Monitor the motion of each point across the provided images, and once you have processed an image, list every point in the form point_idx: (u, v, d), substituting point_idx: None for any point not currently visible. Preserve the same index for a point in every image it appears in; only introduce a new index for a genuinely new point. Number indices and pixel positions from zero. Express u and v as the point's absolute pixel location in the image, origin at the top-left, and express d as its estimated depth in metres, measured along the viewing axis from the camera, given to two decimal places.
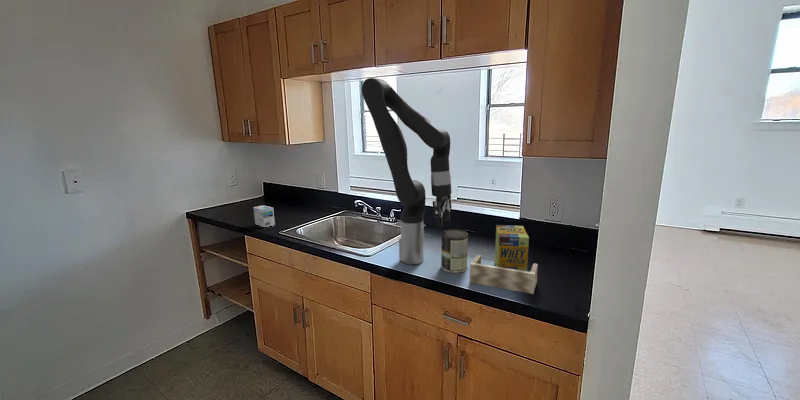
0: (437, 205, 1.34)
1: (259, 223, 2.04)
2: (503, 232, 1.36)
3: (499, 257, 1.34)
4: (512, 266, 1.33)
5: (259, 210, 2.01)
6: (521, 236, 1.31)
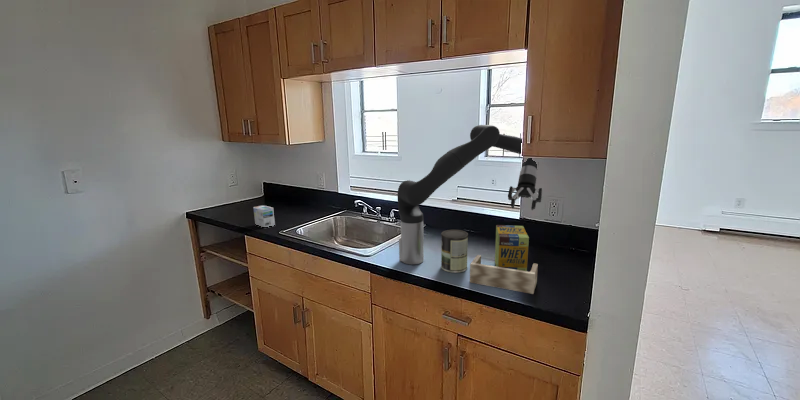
0: (541, 193, 1.60)
1: (259, 223, 2.04)
2: (503, 232, 1.36)
3: (499, 257, 1.34)
4: (512, 266, 1.33)
5: (259, 210, 2.01)
6: (521, 236, 1.31)
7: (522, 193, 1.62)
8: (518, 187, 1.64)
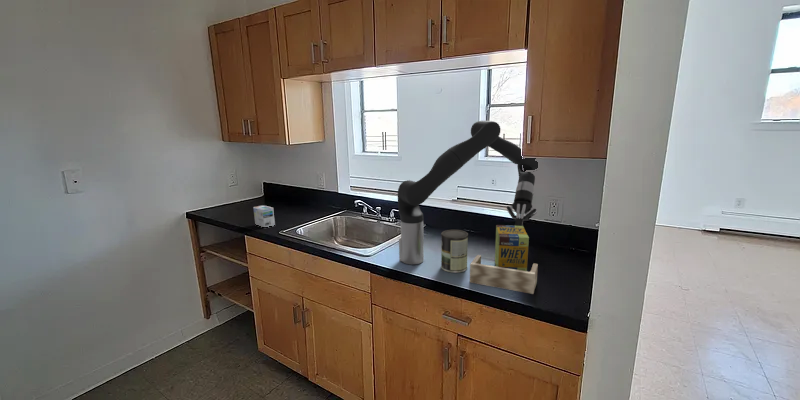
0: (534, 214, 1.57)
1: (259, 223, 2.04)
2: (503, 232, 1.36)
3: (499, 257, 1.34)
4: (512, 266, 1.33)
5: (259, 210, 2.01)
6: (521, 236, 1.31)
7: (522, 209, 1.58)
8: (514, 203, 1.61)
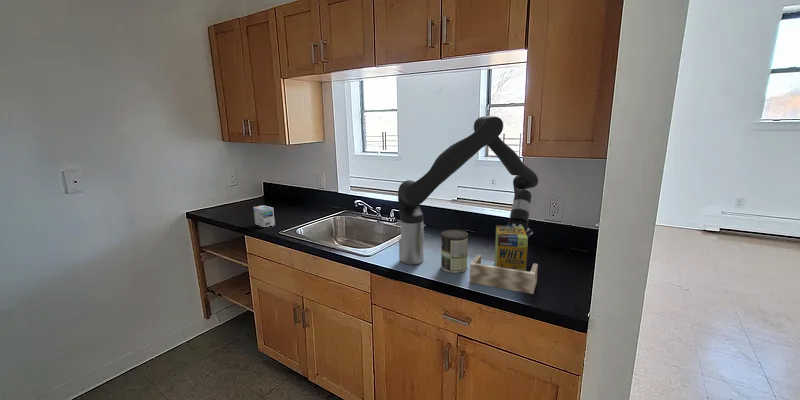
0: (530, 235, 1.49)
1: (259, 223, 2.04)
2: (503, 233, 1.35)
3: (498, 257, 1.33)
4: (511, 266, 1.33)
5: (259, 210, 2.01)
6: (520, 237, 1.31)
7: None
8: (509, 223, 1.53)
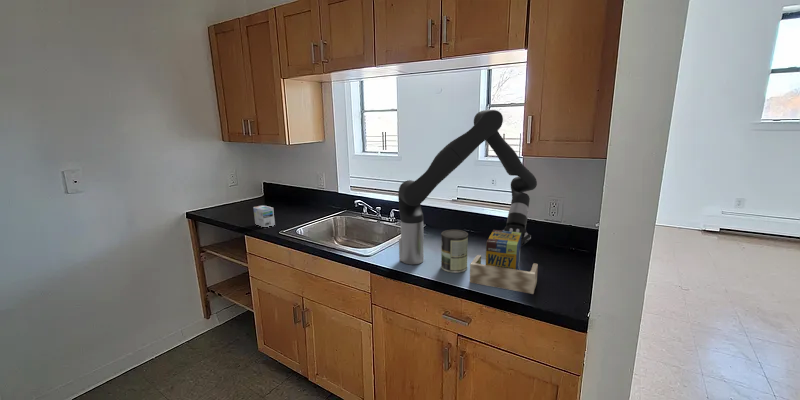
0: (528, 240, 1.42)
1: (259, 223, 2.04)
2: (494, 238, 1.30)
3: (486, 263, 1.28)
4: None
5: (259, 210, 2.01)
6: (509, 243, 1.25)
7: None
8: (506, 227, 1.46)
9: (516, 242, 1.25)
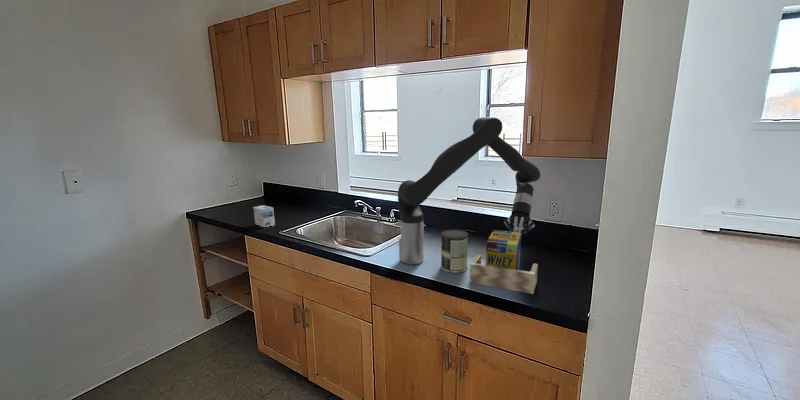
0: (532, 227, 1.51)
1: (259, 223, 2.04)
2: (494, 238, 1.30)
3: (486, 263, 1.28)
4: None
5: (259, 210, 2.01)
6: (509, 243, 1.25)
7: (519, 221, 1.53)
8: (511, 216, 1.55)
9: (516, 242, 1.25)
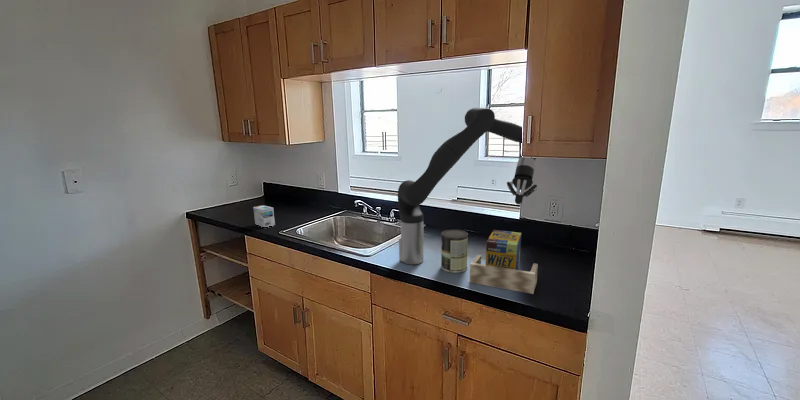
0: (534, 190, 1.54)
1: (259, 223, 2.04)
2: (494, 238, 1.30)
3: (486, 263, 1.28)
4: None
5: (259, 210, 2.01)
6: (509, 243, 1.25)
7: (522, 184, 1.56)
8: (514, 179, 1.58)
9: (516, 242, 1.25)
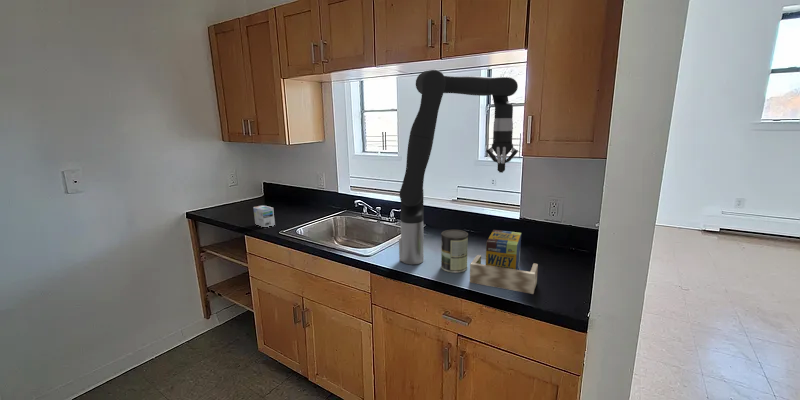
0: (515, 153, 1.48)
1: (259, 223, 2.04)
2: (494, 238, 1.30)
3: (486, 263, 1.28)
4: None
5: (259, 210, 2.01)
6: (509, 243, 1.25)
7: (502, 151, 1.49)
8: (493, 145, 1.50)
9: (516, 242, 1.25)
